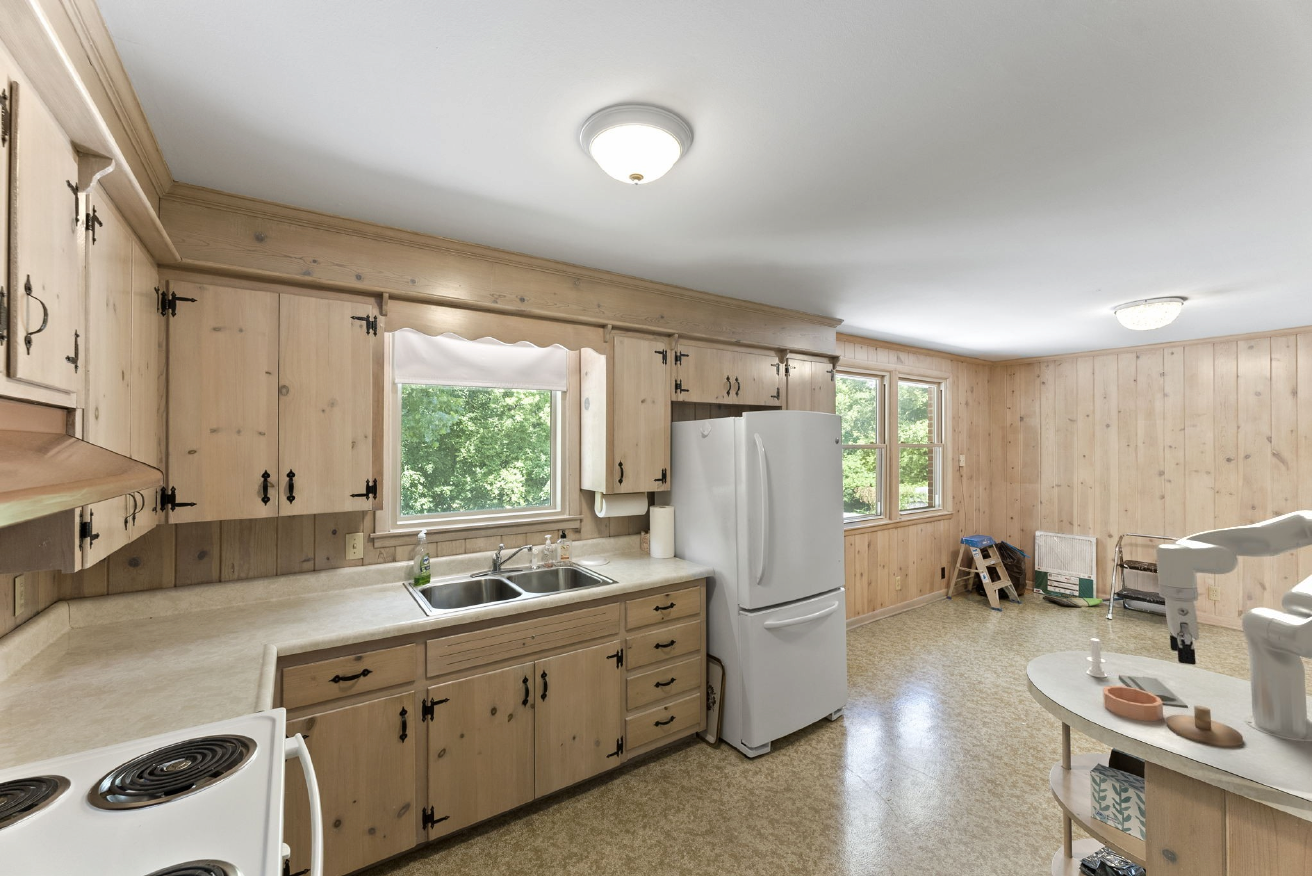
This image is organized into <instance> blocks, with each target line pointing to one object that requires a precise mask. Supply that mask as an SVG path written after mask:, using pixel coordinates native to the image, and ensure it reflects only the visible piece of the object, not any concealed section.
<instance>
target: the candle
mask: <svg viewBox="0 0 1312 876" xmlns="http://www.w3.org/2000/svg"><path fill="white" fill-rule="evenodd" d="M1089 647H1090V657H1086V659H1087V661H1089V662H1091V663H1092V664H1091V666H1090V667H1089V669H1088V670H1087V671H1086V674H1087V675H1089V676H1092V677H1096V678H1107V677H1108V675H1107V674H1106V673H1105V670H1104V669H1102V666H1101V664H1103V663H1106V660H1104V659H1103V658H1102V655H1101V654H1102V653H1101V650H1102V645H1101V640H1100V639H1098V638H1096V637H1094V638H1090V639H1089Z"/></svg>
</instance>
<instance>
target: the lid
mask: <svg viewBox="0 0 1312 876" xmlns="http://www.w3.org/2000/svg"><path fill="white" fill-rule="evenodd" d="M1193 710H1194V711H1193V714H1194V715H1188V714H1172V715H1169V716H1167V717H1166V718H1165V719H1166V720H1165V722H1166V723H1165V724H1166V727H1167V729H1169V730H1170V731H1172V732H1174V733H1175V734H1176V733H1177V734H1179V735H1181V736H1180V737H1182V736H1183V738H1186V739H1189V740H1191V741H1194V742H1198V743H1200V744H1205V745H1210V746H1213V747H1214V746H1215V747H1221V748H1238V747H1237V746H1240V745H1242V746H1243V744H1244V737H1243V735H1242V734H1241V733H1240V732H1239V731H1238V730H1237V729H1235V728H1232V727H1230V726H1229V725H1226V724H1225V723H1221V722H1219V721H1215V720H1213V719H1212V717H1211V716H1212V714H1211V713H1212V712H1211V709H1210V708H1209V707H1206V706H1202V705H1194V706H1193Z"/></svg>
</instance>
